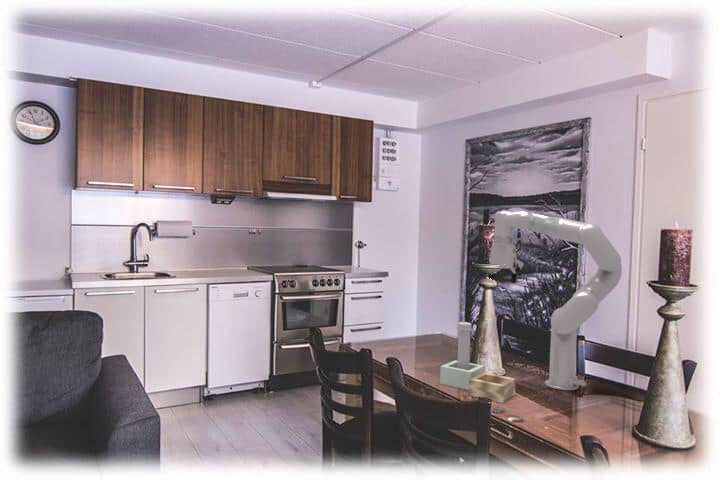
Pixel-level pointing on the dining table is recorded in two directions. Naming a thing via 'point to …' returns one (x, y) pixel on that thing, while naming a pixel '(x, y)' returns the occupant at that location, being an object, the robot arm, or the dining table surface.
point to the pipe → (463, 344)
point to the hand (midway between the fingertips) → (502, 281)
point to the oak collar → (492, 387)
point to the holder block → (459, 374)
